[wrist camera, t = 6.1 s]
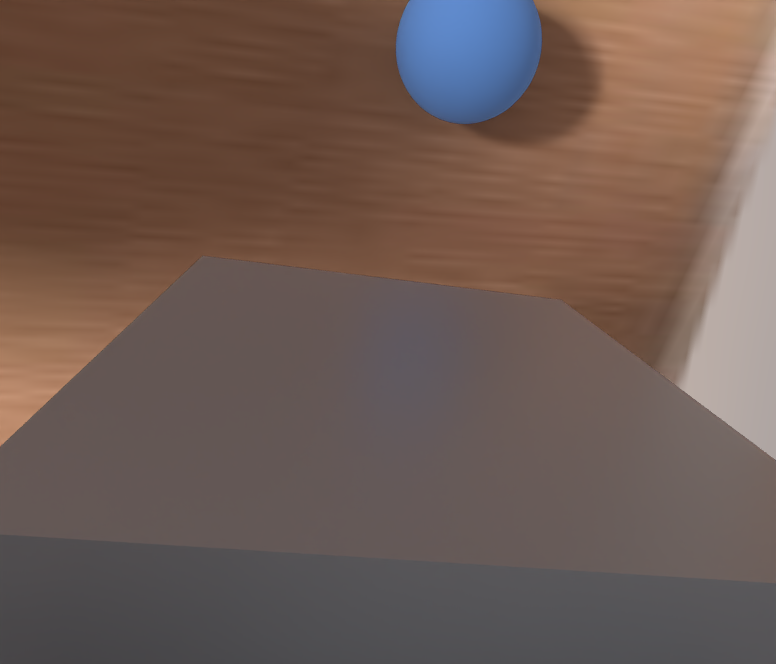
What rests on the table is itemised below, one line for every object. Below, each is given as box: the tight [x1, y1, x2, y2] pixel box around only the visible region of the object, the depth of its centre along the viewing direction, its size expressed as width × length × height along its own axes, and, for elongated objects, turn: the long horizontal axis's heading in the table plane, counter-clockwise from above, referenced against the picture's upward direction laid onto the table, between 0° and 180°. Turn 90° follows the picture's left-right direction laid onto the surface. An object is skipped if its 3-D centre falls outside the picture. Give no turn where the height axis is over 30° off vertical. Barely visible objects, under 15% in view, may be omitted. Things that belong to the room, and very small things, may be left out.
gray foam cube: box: [0, 256, 776, 664], centre depth 10 cm, size 8×8×9 cm
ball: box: [396, 0, 542, 124], centre depth 21 cm, size 5×5×5 cm
